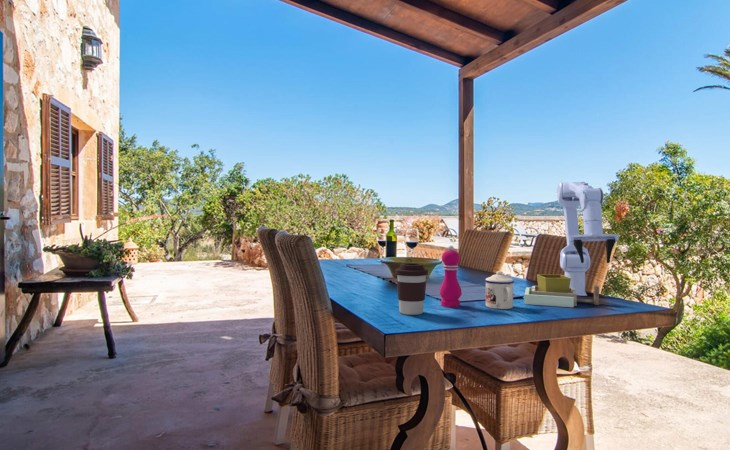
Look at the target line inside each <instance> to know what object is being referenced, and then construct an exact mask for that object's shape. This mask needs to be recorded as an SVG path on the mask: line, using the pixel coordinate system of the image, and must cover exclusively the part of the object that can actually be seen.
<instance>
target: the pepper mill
mask: <svg viewBox="0 0 730 450" xmlns="http://www.w3.org/2000/svg"><path fill="white" fill-rule="evenodd" d="M447 249H448V250H445V251H444V252H443V253H442V255H441V262H442V263H443V265H442V269H443V271H444V278H443V281H442V283H441V286H440V289H439V295H440V297H441V298H442V299H441V300H440V306H442V307H445V308H459V307H461V300H460V299H459V298H461V296H462V287H461V285H460V283H459V281H458V273H457V272H458V270H459V265H458V264H459V262H460V260H461V256H460V254H459V252H458V251H456V250H454V246H453V245H449V246H448V247H447Z"/></svg>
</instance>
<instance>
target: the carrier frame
mask: <svg viewBox="0 0 730 450" xmlns="http://www.w3.org/2000/svg"><path fill="white" fill-rule="evenodd" d="M531 288H532V295H548V296H564V297H574V307H577V302H579V303H593V304H594V305H595V306H599V305H600V286H599V285H597V284H594V285H593V299H587V298H586V299H585V298H577V297H578V295H577V293H576V291H575V289H574V288H569V292H568V293H559V292H542V291H539V289H538V285H532V286H531Z"/></svg>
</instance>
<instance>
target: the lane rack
mask: <svg viewBox="0 0 730 450" xmlns="http://www.w3.org/2000/svg"><path fill="white" fill-rule="evenodd" d="M523 299H524V304H523V305H532V306H533V305H535V306H549V307H561V308H562V307H564V308H574V307H575V306H574V297H564V296H548V295H532V287H531V286H530V287H527V286H526V287H525V291H524V298H523Z"/></svg>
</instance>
